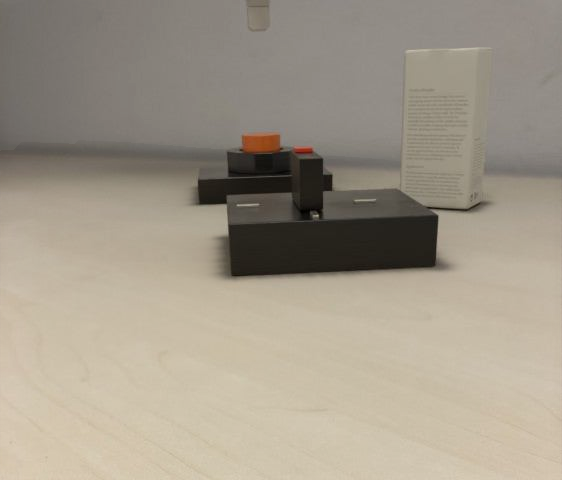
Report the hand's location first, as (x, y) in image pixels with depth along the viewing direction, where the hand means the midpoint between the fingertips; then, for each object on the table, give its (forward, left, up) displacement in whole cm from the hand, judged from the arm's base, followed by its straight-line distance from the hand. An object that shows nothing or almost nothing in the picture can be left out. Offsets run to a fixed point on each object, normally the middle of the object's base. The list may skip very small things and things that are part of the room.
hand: (258, 30), depth 62 cm
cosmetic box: (+17, -4, -14) cm, 22 cm away
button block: (0, 0, -14) cm, 14 cm away
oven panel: (+11, -22, -14) cm, 28 cm away
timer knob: (+10, -22, -11) cm, 27 cm away
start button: (0, 0, -10) cm, 10 cm away
